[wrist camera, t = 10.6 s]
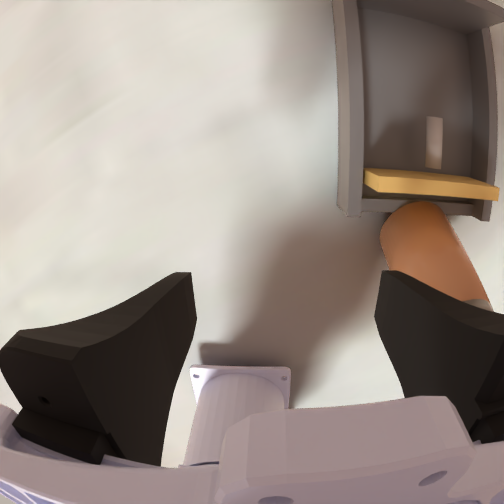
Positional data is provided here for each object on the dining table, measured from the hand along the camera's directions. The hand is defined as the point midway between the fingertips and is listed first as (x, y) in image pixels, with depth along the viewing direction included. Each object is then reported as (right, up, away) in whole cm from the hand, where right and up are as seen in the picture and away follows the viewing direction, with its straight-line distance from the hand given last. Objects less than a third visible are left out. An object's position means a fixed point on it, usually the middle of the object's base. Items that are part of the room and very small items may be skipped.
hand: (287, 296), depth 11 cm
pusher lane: (+9, +11, +5) cm, 15 cm away
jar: (+9, +3, +7) cm, 12 cm away
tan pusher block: (+9, +8, +5) cm, 13 cm away
